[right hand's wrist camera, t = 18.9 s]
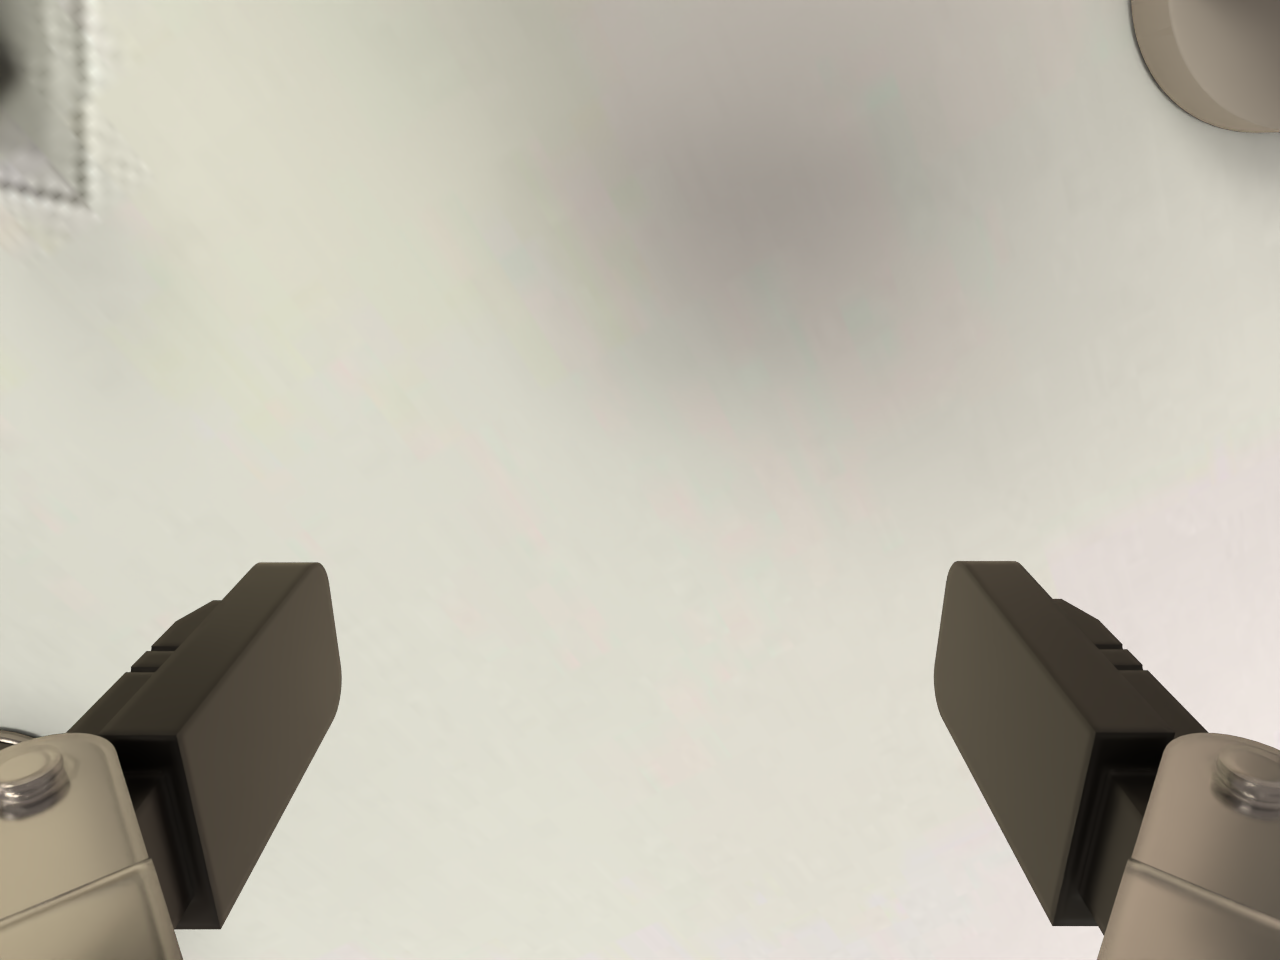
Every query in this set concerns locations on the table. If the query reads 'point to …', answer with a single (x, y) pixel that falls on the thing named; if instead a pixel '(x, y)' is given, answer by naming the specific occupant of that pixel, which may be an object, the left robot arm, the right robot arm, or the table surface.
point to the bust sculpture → (1215, 58)
